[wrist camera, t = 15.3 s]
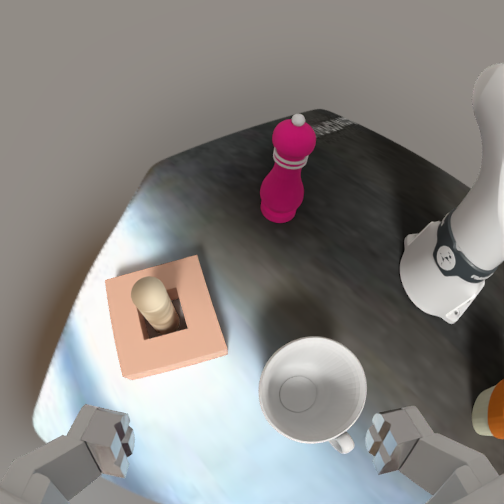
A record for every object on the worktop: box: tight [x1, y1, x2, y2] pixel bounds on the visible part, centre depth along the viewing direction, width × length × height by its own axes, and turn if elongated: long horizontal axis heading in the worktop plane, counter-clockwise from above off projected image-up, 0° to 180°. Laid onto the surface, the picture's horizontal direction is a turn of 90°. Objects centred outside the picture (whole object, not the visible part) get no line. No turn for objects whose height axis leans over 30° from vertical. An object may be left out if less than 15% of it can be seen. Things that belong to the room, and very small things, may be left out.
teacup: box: [259, 336, 367, 454], centre depth 32 cm, size 12×15×10 cm
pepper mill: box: [260, 114, 316, 223], centre depth 44 cm, size 7×7×20 cm
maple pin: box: [131, 276, 180, 335], centre depth 36 cm, size 4×4×11 cm
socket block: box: [105, 255, 228, 380], centre depth 39 cm, size 14×14×4 cm
